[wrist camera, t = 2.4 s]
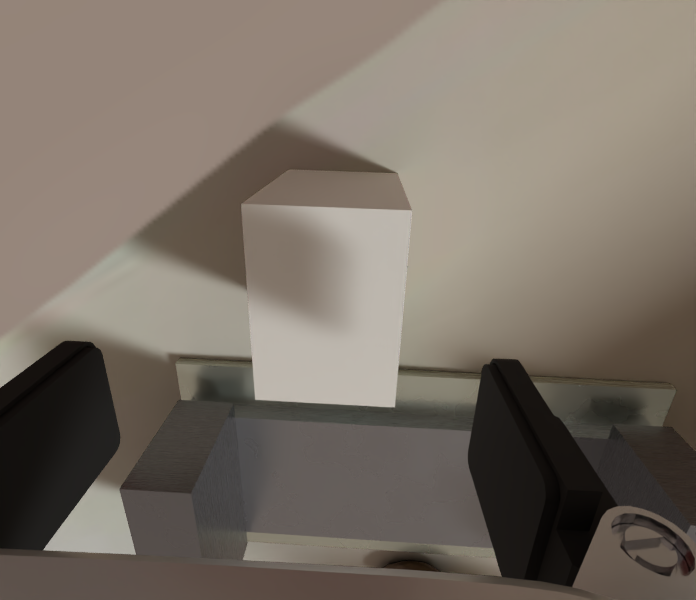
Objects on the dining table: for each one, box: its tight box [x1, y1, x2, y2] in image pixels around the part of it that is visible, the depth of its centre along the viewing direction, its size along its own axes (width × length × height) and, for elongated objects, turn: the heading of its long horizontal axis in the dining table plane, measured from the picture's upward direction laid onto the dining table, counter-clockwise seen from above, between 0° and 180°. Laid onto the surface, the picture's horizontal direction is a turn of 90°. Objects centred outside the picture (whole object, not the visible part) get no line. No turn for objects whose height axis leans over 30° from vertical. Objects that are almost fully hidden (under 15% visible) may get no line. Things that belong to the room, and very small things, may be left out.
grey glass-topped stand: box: [120, 358, 696, 560], centre depth 23 cm, size 14×27×9 cm, turn 88°
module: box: [241, 169, 412, 407], centre depth 18 cm, size 7×5×8 cm
